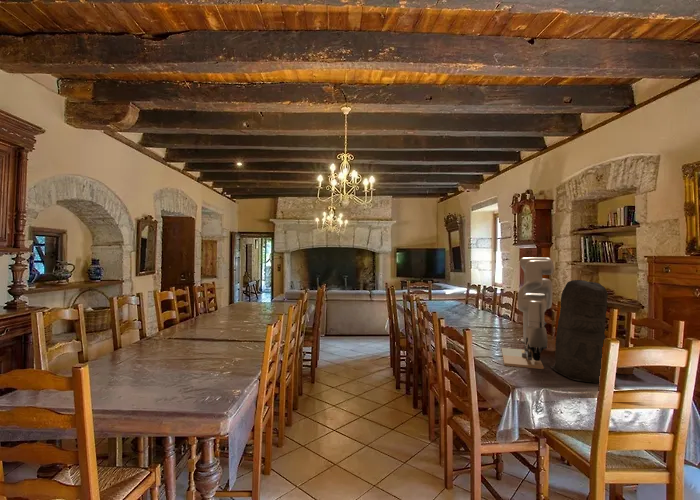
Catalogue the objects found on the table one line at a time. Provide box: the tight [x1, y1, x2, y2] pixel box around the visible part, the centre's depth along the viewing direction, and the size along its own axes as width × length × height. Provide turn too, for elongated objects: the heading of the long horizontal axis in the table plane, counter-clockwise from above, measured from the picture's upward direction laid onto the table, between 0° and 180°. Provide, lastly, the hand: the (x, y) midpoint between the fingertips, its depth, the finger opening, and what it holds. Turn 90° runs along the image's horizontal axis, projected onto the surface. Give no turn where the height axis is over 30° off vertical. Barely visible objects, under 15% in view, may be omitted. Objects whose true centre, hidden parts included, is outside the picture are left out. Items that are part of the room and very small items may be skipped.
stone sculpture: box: [549, 279, 609, 384], centre depth 171 cm, size 24×21×45 cm
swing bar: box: [525, 351, 532, 360], centre depth 194 cm, size 13×2×4 cm, turn 160°
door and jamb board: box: [501, 344, 545, 370], centre depth 203 cm, size 34×18×8 cm, turn 160°
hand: (536, 360), depth 192 cm, fingers closed
